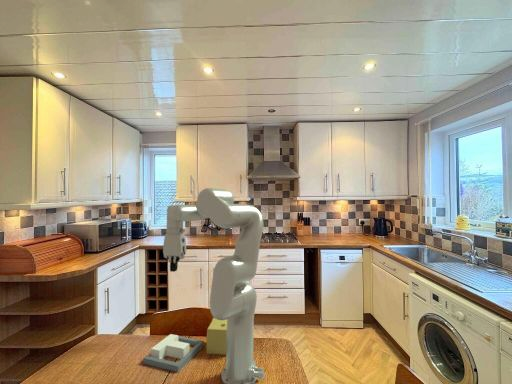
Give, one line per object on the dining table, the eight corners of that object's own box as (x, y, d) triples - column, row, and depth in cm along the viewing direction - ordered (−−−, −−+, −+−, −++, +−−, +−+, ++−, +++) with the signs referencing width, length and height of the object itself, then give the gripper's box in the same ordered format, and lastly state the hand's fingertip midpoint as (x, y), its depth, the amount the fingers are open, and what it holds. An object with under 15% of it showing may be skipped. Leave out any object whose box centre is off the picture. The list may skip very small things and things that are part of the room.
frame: (203, 345, 105) (204, 341, 106) (178, 372, 88) (178, 366, 88) (173, 339, 110) (173, 335, 110) (143, 363, 93) (143, 357, 93)
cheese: (235, 342, 109) (235, 318, 110) (230, 356, 98) (231, 330, 99) (212, 340, 110) (212, 317, 111) (205, 354, 99) (205, 328, 100)
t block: (194, 348, 103) (194, 338, 104) (177, 365, 92) (177, 354, 92) (170, 343, 107) (170, 333, 107) (150, 359, 96) (151, 348, 96)
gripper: (192, 231, 118) (191, 270, 117) (166, 230, 123) (165, 267, 122) (183, 232, 111) (182, 274, 110) (156, 231, 116) (154, 271, 115)
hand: (173, 270), depth 116 cm, fingers closed
